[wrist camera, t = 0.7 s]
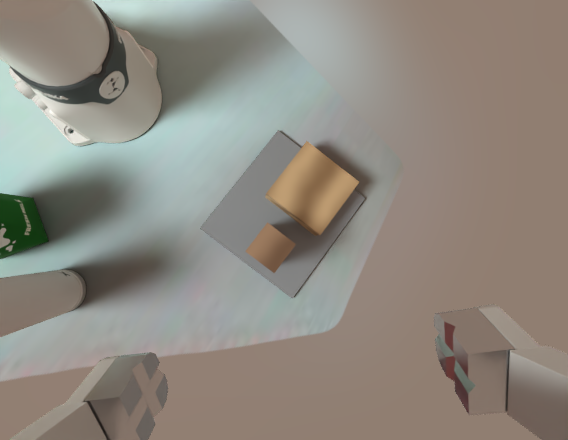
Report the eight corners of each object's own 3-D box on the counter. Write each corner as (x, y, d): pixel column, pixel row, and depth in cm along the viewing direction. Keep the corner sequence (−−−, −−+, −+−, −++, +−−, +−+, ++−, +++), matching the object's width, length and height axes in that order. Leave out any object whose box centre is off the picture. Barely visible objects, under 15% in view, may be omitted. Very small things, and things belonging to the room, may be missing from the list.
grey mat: (200, 228, 48) (199, 228, 47) (277, 131, 50) (278, 130, 49) (291, 297, 48) (292, 298, 48) (364, 198, 51) (365, 198, 50)
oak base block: (265, 197, 48) (266, 193, 44) (302, 149, 50) (306, 141, 46) (314, 235, 49) (320, 235, 45) (351, 187, 50) (359, 182, 46)
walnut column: (246, 249, 48) (245, 251, 38) (264, 226, 48) (267, 222, 38) (269, 267, 48) (274, 273, 38) (287, 244, 48) (296, 244, 38)
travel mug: (74, 259, 46) (-65, 271, 26) (94, 298, 45) (-29, 341, 26) (33, 280, 45) (-143, 309, 25) (53, 320, 45) (-107, 381, 25)
